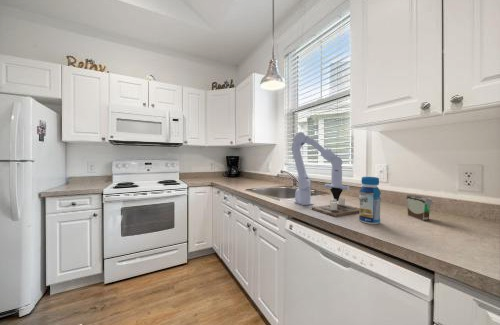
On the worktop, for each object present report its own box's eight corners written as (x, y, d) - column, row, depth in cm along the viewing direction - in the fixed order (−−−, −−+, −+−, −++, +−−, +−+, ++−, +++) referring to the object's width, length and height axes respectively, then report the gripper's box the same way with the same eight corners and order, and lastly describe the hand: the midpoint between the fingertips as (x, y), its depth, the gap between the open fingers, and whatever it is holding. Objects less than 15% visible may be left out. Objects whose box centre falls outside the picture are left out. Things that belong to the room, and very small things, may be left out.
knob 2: (330, 209, 106) (330, 202, 106) (333, 208, 107) (333, 201, 107) (333, 210, 104) (333, 203, 104) (337, 209, 106) (337, 202, 105)
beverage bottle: (384, 225, 87) (384, 178, 87) (362, 224, 89) (363, 178, 88) (376, 219, 95) (376, 176, 95) (356, 218, 97) (357, 176, 97)
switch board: (311, 209, 114) (311, 206, 114) (339, 205, 123) (339, 203, 123) (335, 216, 99) (335, 213, 99) (364, 211, 109) (364, 209, 109)
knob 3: (338, 204, 117) (338, 198, 117) (341, 204, 118) (341, 197, 118) (341, 205, 115) (341, 198, 115) (344, 204, 117) (344, 198, 116)
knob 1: (330, 205, 114) (330, 199, 114) (333, 205, 116) (333, 198, 116) (333, 206, 113) (333, 199, 113) (336, 205, 114) (336, 199, 114)
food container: (439, 222, 92) (440, 200, 92) (425, 222, 92) (426, 199, 92) (417, 214, 104) (418, 195, 104) (405, 214, 104) (405, 194, 104)
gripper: (321, 177, 124) (321, 199, 124) (344, 179, 112) (344, 204, 112) (328, 176, 128) (328, 198, 128) (351, 178, 116) (351, 202, 116)
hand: (336, 200), depth 120 cm, fingers closed
